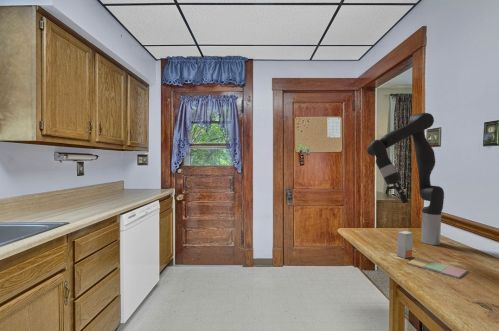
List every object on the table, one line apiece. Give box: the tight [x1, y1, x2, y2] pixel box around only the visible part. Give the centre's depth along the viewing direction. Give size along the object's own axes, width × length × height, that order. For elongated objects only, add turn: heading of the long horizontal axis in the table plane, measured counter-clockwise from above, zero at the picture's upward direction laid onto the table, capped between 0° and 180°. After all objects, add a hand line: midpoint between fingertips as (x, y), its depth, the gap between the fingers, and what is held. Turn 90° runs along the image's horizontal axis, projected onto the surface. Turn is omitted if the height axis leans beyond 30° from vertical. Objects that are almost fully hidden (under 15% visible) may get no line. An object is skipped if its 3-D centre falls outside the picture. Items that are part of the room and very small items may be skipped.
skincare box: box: [396, 230, 414, 259], centre depth 140 cm, size 6×4×12 cm
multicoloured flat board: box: [406, 257, 469, 280], centre depth 126 cm, size 12×20×1 cm, turn 39°
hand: (405, 202), depth 147 cm, fingers open, 8 cm apart
